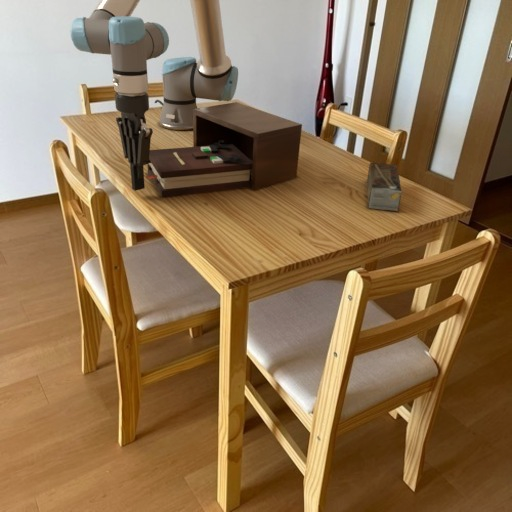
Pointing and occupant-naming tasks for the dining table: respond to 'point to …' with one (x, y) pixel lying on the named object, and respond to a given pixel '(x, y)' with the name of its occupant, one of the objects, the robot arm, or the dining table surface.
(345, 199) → the dining table surface
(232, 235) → the dining table surface
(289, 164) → the walnut shelf
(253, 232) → the dining table surface
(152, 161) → the decorative book
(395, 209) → the beverage carton
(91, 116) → the dining table surface
